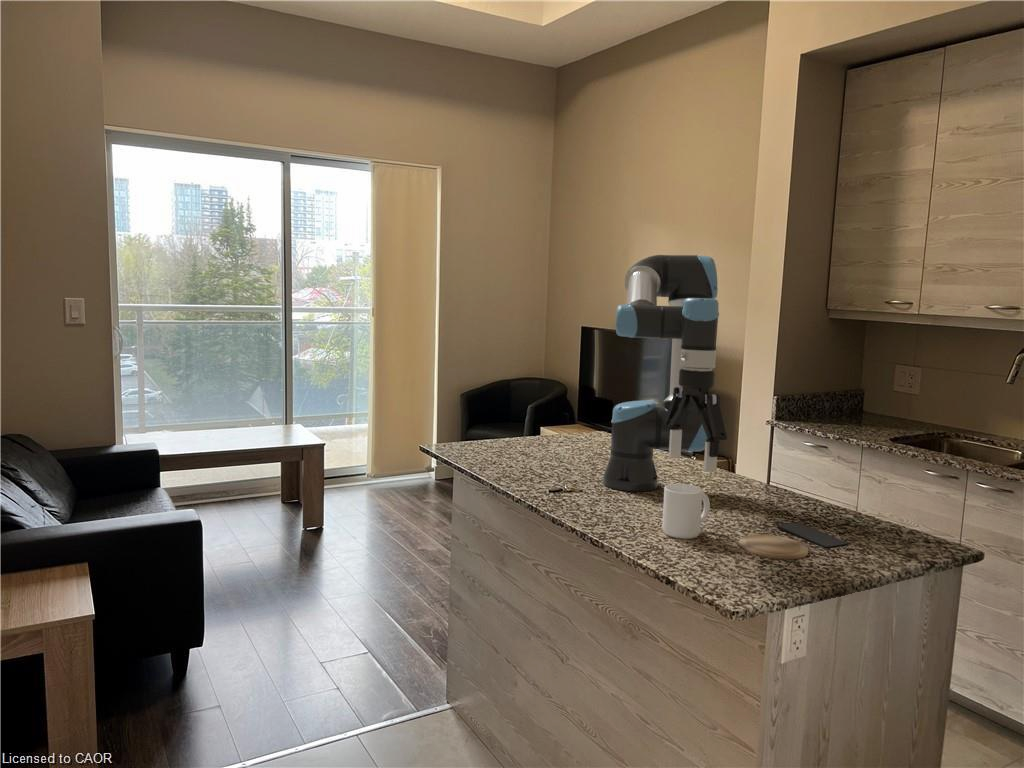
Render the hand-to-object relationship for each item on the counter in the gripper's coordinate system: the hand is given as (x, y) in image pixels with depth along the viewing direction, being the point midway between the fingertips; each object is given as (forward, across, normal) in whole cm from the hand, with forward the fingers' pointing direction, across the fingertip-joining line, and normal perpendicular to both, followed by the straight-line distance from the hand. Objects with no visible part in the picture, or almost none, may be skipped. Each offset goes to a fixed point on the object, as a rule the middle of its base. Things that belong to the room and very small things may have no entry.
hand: (691, 464), depth 164 cm
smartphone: (+16, +10, +26) cm, 32 cm away
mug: (+16, 0, 0) cm, 16 cm away
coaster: (+16, +14, +12) cm, 24 cm away
